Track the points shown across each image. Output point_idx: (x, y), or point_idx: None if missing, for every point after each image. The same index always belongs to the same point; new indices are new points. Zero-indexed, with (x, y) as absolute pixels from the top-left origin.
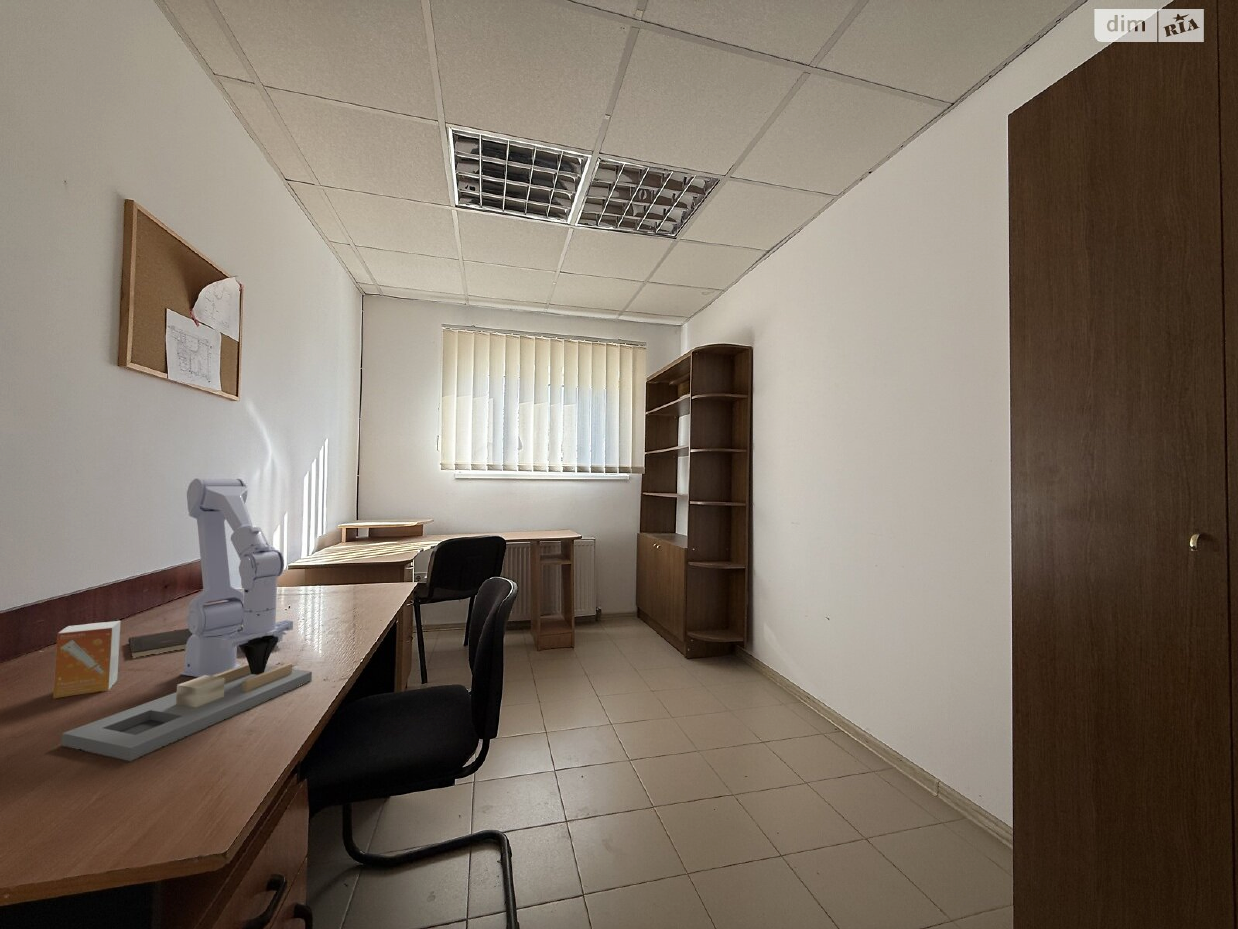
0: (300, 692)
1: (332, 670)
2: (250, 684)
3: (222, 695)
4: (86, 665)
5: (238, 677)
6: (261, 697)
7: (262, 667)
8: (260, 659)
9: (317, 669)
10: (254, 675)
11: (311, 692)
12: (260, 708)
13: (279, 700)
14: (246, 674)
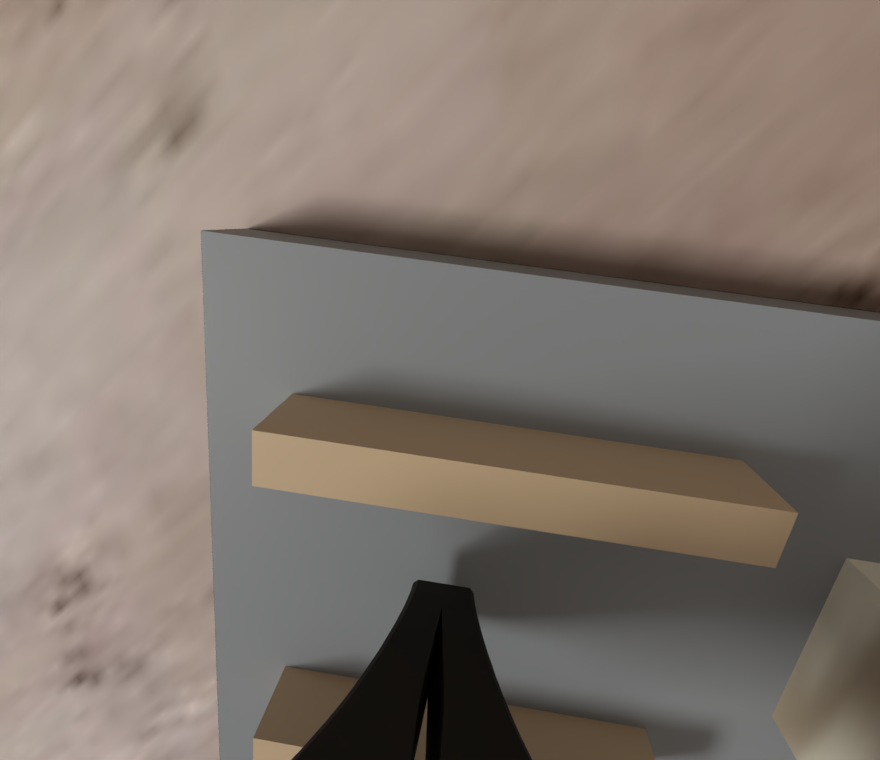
0: (478, 129)
1: (6, 225)
2: (736, 481)
3: (871, 568)
4: None
5: None
6: (752, 300)
7: (443, 619)
8: (480, 708)
9: (45, 367)
10: None
11: (461, 12)
12: (830, 218)
13: (660, 184)
14: None
